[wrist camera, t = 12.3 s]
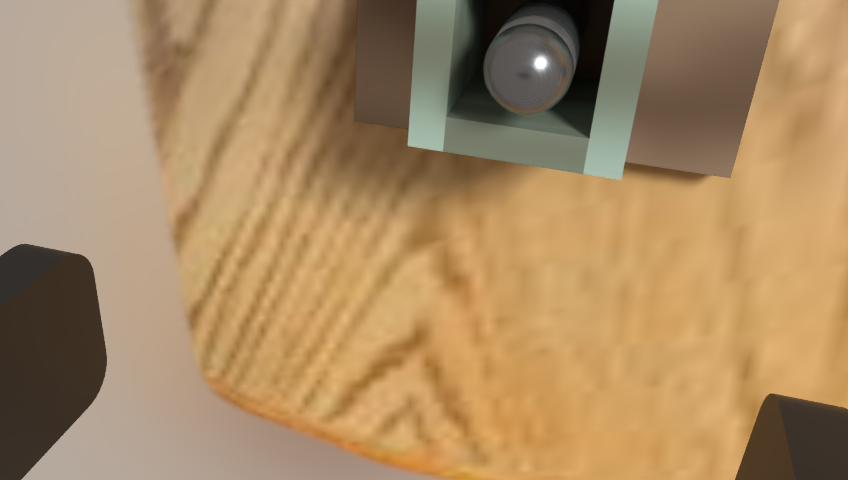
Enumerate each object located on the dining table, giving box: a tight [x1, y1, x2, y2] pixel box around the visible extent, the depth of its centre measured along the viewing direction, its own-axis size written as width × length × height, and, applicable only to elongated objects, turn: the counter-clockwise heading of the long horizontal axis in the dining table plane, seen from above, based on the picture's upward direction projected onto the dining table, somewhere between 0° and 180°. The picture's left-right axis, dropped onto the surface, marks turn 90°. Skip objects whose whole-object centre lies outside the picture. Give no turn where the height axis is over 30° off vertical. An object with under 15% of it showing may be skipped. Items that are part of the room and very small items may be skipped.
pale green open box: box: [408, 0, 658, 180], centre depth 25 cm, size 6×6×6 cm
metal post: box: [483, 0, 590, 115], centre depth 24 cm, size 2×2×8 cm
